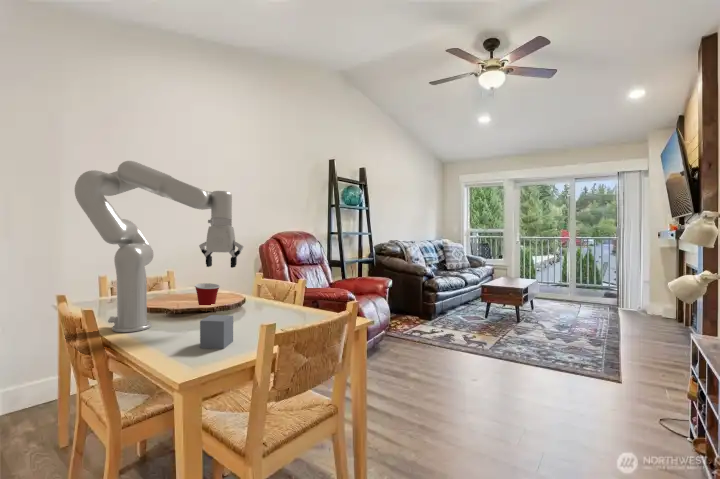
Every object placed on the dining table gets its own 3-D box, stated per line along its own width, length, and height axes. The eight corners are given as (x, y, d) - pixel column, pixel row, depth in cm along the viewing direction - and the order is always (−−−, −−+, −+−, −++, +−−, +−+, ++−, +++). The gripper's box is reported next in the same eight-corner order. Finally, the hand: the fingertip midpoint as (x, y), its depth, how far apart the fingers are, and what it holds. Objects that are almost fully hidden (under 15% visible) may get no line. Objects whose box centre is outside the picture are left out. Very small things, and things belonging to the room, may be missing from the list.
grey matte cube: (200, 348, 121) (200, 320, 121) (210, 340, 129) (210, 314, 129) (223, 348, 121) (223, 321, 121) (233, 341, 129) (233, 315, 128)
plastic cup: (211, 314, 166) (211, 287, 165) (189, 313, 168) (189, 286, 167) (225, 309, 176) (225, 283, 176) (204, 307, 179) (203, 282, 178)
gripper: (195, 222, 145) (194, 267, 146) (239, 223, 144) (238, 268, 144) (204, 222, 152) (204, 265, 153) (246, 223, 151) (246, 266, 152)
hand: (221, 266), depth 149 cm, fingers open, 9 cm apart
